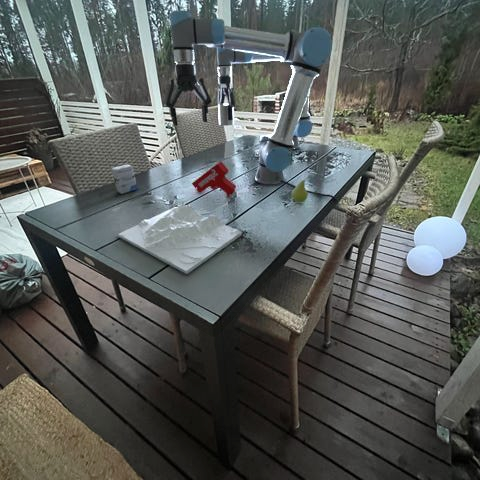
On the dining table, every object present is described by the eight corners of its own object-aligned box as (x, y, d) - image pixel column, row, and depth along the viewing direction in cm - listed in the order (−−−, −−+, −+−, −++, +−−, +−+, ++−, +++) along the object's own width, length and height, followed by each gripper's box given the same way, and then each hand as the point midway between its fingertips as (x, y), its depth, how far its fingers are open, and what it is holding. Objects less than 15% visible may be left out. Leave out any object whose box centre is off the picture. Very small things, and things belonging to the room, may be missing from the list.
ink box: (133, 186, 138) (127, 163, 132) (137, 189, 135) (132, 165, 129) (116, 191, 133) (110, 167, 127) (121, 194, 130) (114, 170, 124)
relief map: (186, 274, 80) (184, 260, 77) (118, 236, 97) (114, 224, 95) (241, 234, 98) (241, 222, 95) (176, 209, 116) (174, 198, 113)
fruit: (288, 200, 123) (290, 174, 116) (302, 197, 125) (305, 172, 119) (296, 206, 118) (299, 179, 111) (310, 203, 120) (314, 177, 114)
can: (236, 124, 166) (236, 104, 160) (225, 126, 161) (224, 105, 155) (227, 122, 172) (227, 102, 166) (216, 124, 167) (215, 104, 161)
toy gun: (240, 187, 127) (221, 160, 123) (237, 190, 124) (218, 163, 120) (214, 205, 137) (195, 180, 133) (210, 208, 134) (191, 183, 130)
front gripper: (209, 63, 112) (212, 119, 123) (149, 64, 100) (159, 125, 112) (218, 63, 107) (220, 121, 118) (156, 63, 95) (165, 128, 107)
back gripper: (210, 75, 159) (212, 117, 171) (228, 76, 143) (230, 122, 156) (221, 75, 162) (223, 116, 174) (240, 75, 147) (241, 120, 159)
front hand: (190, 123), depth 115 cm, fingers open, 13 cm apart
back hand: (226, 118), depth 165 cm, fingers closed on can, 9 cm apart
